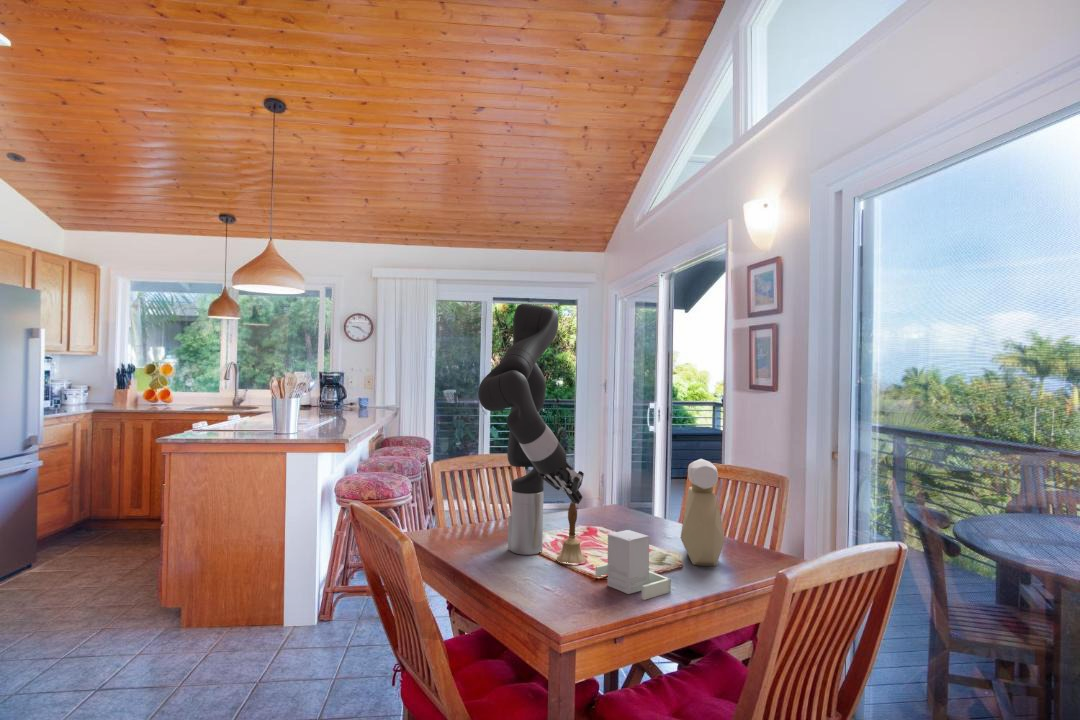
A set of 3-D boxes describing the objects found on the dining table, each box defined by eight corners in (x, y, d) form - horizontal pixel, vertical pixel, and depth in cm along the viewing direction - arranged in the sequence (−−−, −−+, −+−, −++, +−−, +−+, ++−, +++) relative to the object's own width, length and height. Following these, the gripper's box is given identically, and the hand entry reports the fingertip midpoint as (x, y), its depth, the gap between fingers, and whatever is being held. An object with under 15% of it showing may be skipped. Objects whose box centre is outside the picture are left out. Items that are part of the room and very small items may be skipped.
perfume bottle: (685, 572, 152) (687, 465, 152) (675, 545, 176) (676, 452, 176) (733, 575, 150) (734, 466, 151) (716, 548, 174) (717, 454, 175)
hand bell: (591, 559, 161) (592, 501, 161) (576, 567, 154) (577, 507, 154) (565, 554, 166) (567, 497, 166) (550, 561, 159) (551, 502, 159)
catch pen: (644, 600, 133) (644, 586, 133) (595, 578, 146) (595, 566, 146) (670, 591, 138) (670, 579, 138) (621, 571, 151) (621, 560, 152)
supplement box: (649, 588, 140) (650, 535, 140) (627, 595, 136) (628, 540, 136) (627, 579, 146) (628, 528, 146) (606, 585, 142) (607, 533, 142)
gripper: (573, 437, 124) (608, 491, 131) (530, 433, 133) (565, 484, 141) (554, 462, 120) (591, 518, 127) (512, 457, 129) (549, 509, 137)
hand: (578, 500), depth 134 cm, fingers closed
